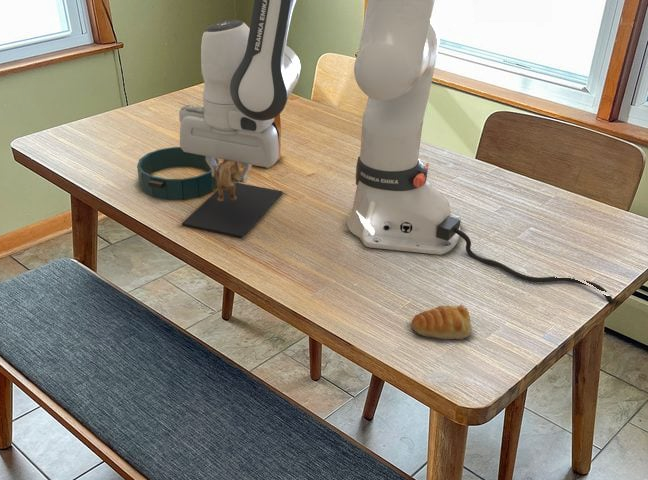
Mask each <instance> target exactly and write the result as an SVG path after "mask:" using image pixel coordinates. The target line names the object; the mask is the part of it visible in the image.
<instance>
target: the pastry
mask: <svg viewBox="0 0 648 480" xmlns="http://www.w3.org/2000/svg"><path fill="white" fill-rule="evenodd" d="M410 326H411V328H412V329H413V330H414V331H415V332H416V333H417V334H418V335H421V336H422V337H426V338H435V339H438V340H439V339H440V340H453V339H456V340H464V339H465V338H468V337H469V336H470V335H472V323H471V315H470V313H469V310H468V308H467V307H466V306H464V305H463V304H460V305H457V306H456V305H438V306H437V307H435V308H431V309H429V310H424V311H422V312H419V313H418V314H415V315H414V317H413V318H412V321H411V324H410Z"/></svg>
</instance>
